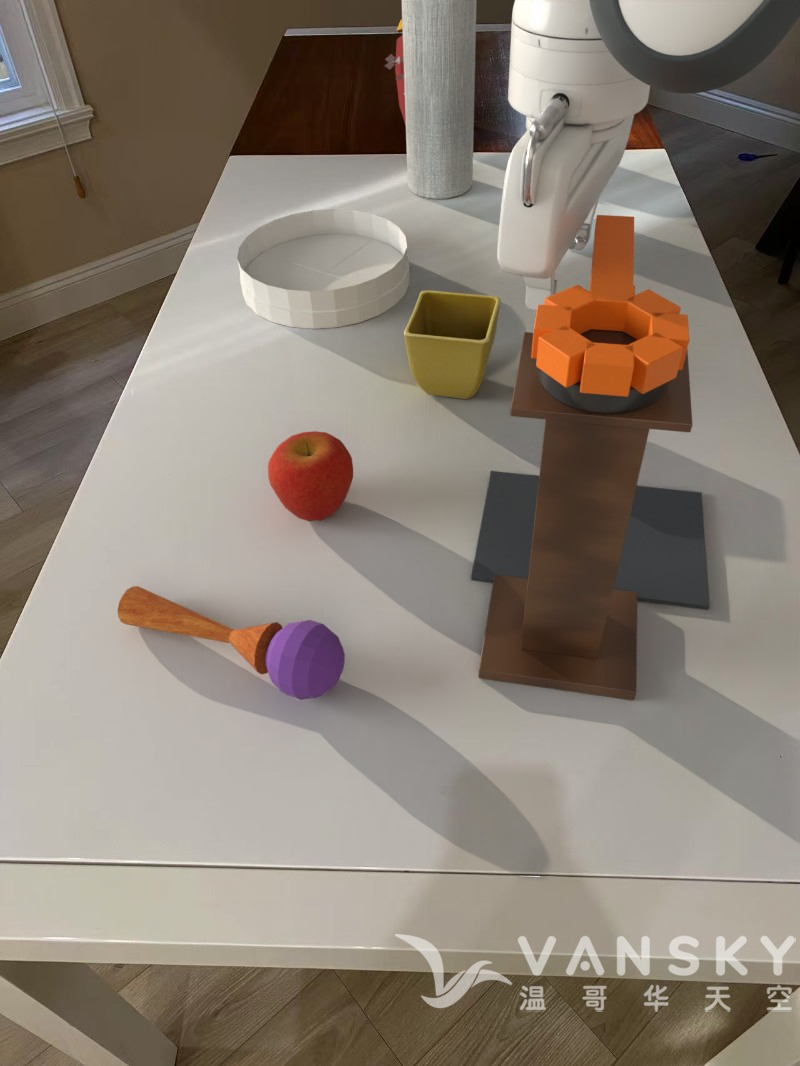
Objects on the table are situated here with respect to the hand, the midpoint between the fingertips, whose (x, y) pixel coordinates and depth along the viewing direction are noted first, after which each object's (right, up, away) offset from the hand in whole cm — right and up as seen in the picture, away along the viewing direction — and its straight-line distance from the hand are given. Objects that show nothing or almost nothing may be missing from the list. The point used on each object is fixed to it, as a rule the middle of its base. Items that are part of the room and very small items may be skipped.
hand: (558, 274), depth 62 cm
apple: (-20, -17, +18) cm, 32 cm away
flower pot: (-6, -3, +31) cm, 31 cm away
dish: (-22, +14, +48) cm, 54 cm away
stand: (+1, -28, +6) cm, 29 cm away
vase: (-6, +35, +67) cm, 75 cm away
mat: (+6, -20, +14) cm, 25 cm away
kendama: (-25, -29, +6) cm, 39 cm away
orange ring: (+1, -5, -11) cm, 12 cm away
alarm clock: (-9, +52, +84) cm, 99 cm away
